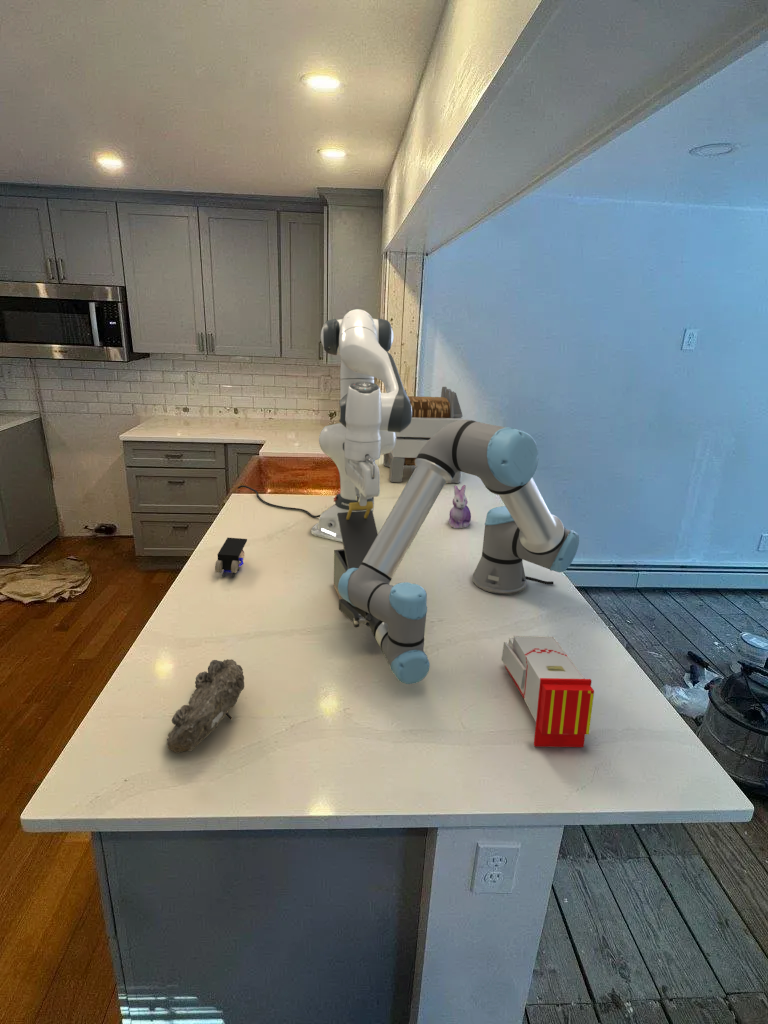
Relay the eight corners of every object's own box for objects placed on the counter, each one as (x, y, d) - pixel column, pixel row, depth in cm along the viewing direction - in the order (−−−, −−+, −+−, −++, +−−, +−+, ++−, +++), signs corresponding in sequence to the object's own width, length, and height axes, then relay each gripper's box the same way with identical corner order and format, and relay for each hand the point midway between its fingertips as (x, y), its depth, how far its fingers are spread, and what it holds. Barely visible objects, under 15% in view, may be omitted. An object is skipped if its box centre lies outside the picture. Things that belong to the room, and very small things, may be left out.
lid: (337, 514, 150) (342, 498, 143) (371, 512, 153) (378, 496, 146) (349, 576, 141) (355, 562, 135) (385, 573, 144) (393, 558, 138)
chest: (333, 585, 161) (334, 549, 157) (366, 582, 163) (367, 547, 160) (348, 617, 145) (349, 577, 141) (384, 612, 148) (386, 574, 144)
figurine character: (238, 584, 162) (249, 557, 175) (236, 562, 158) (247, 536, 172) (215, 584, 161) (227, 556, 175) (212, 561, 158) (225, 535, 171)
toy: (550, 619, 129) (603, 686, 100) (544, 673, 132) (595, 754, 102) (497, 618, 128) (535, 685, 99) (492, 672, 131) (528, 753, 102)
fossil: (192, 660, 117) (244, 628, 112) (224, 691, 120) (276, 661, 115) (142, 746, 98) (202, 712, 93) (182, 779, 101) (242, 748, 96)
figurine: (456, 530, 205) (460, 491, 199) (441, 521, 213) (444, 483, 208) (477, 527, 209) (481, 488, 204) (461, 518, 217) (465, 480, 212)
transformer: (382, 463, 289) (386, 382, 275) (445, 464, 293) (451, 384, 279) (390, 482, 257) (394, 392, 243) (460, 483, 261) (468, 394, 247)
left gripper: (387, 460, 131) (384, 516, 136) (364, 440, 149) (362, 490, 154) (361, 461, 129) (359, 518, 134) (340, 441, 148) (339, 491, 152)
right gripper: (342, 652, 125) (321, 604, 145) (435, 639, 132) (403, 594, 152) (342, 623, 123) (321, 577, 143) (437, 611, 129) (404, 569, 149)
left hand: (360, 503), depth 144 cm, fingers closed
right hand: (363, 586), depth 147 cm, fingers closed on chest, 9 cm apart
